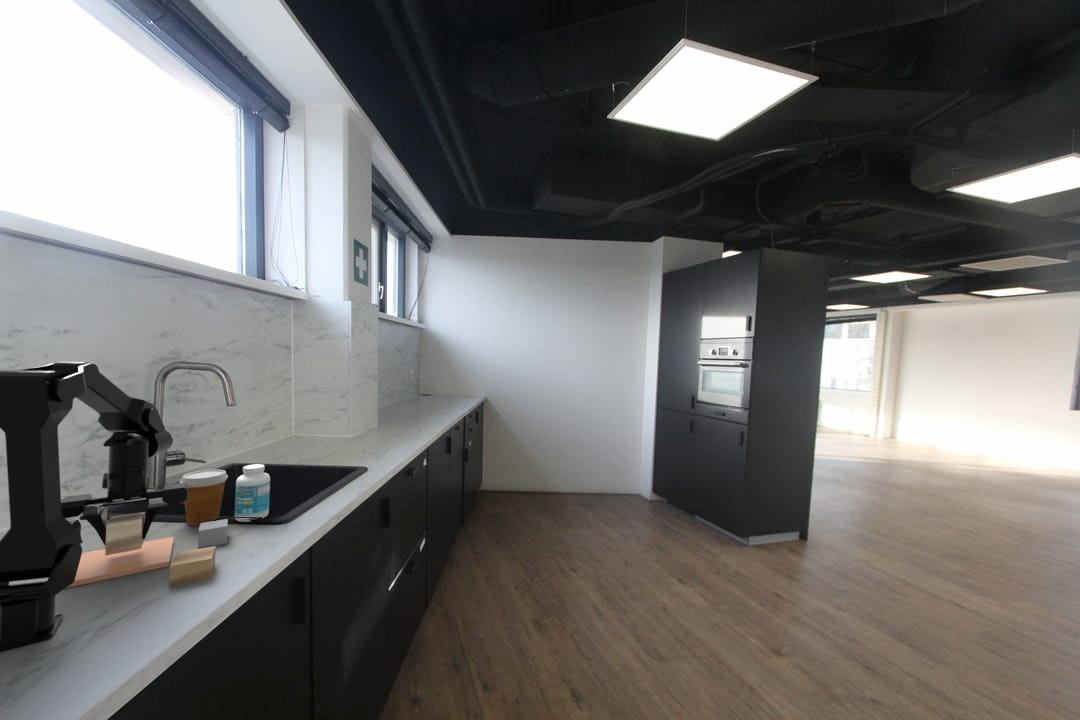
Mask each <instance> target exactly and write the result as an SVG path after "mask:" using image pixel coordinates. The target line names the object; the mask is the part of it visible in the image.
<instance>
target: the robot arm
mask: <svg viewBox="0 0 1080 720" xmlns="http://www.w3.org/2000/svg"><path fill="white" fill-rule="evenodd" d="M99 370H100V369H99V367H98V366H97V365H96V364H95V363H91V362H89V361H64V360H63V361H61V360H59V361H56V362H51V363H48V364H44V365H40V366H34V367H33V366H32V367H26V368H20V369H15V370H14V369H1V370H0V430H1V431H2V432H4V435H5V436H4V438H5V440H4V441H5V455H6V470H7V472H6V473H7V488H8V489H7V490H8V491H7V492H8V505H9V507H8V508H9V522H10V523H9V526H10V527H9V529H8V530H7V532H6V533H5V534H4V535H3V537H2V538H1V539H0V652H1V651H6V650H10V649H13V648H17V647H18V648H19V647H22V646H26V645H29V644H33V643H36V642H40V641H44V640H48V639H50V638H52V637H53V635H54V634H55V632H56V631H57V628H58V627H59V626H60V623H61V622H62V620H63V618H64V614H63V613H59V614H58V613H57V614H56V597H57V596H56V595H58V594H60V593H61V592H62V591H63V590H65V589H68V588H69V587H68V586H69V585H71V584H72V583H74V581H75V577H76V574H77V570H78V566H79V562H80V559H81V555H82V554H83V547H82V544H83V540H82V534H81V531H82V524H81V522H80V521H87V522H88V523H89V524H90V526H91V527H92V528H93V529H94V530H95V531H96V533H97V535H98V536H99V538H100V540H101V542H102V544H103V545H104V546H105V547H106V525H107V523H108V521H109V520H108V507H111V506H120V505H126V504H127V505H128V504H135V503H142V502H148V506H147V508H146V511H145V521H144V527H143V532H142V539H144V540H145V539H146V537H147V536H148V535H147V534H148V533H149V530H150V527H151V526H152V523H153V521H154V519H155V517H156V516H157V515H158V513H159V512H160V510H162V509H166V508H167V506H168V504H175V503H182V502H183V503H184V501H186V500H187V497H188V484H187V483H180V482H178V483H168V484H164V486H163V489H158V490H157V489H156V490H150V491H148V490H149V489H150V475H149V473H148V472H149V471H148V470H149V459H150V458H152V457H154V456H157V455H160V454H162V453H165V452H166V451H168V450H169V449H171V447H172V446H173V443H174V439H173V437H172V434H171V433H170V432H169V431H167V430H166V427H165V425H164V423H163V420H162V417H161V415H160V413H159V411H158V409H157V408H156V406H155V405H154V404H153V403H151V402H150V401H147V400H145V399H141V398H136V397H131V396H129V395H128V394H126V393H125V391H123V390H122V389H120V388H119V387H118V386H117V384H115V383H113V382H112V381H111V380H109V378H107V377H106V376H105V375H104V374H103V373H101V372H100V371H99ZM75 398H76V399H78V400H79V401H80V402H82V404H85V405H86V406H88V407H89V408H91V409H92V410H94V411H95V412H96V413H97V414H98V415H99V416H98V418H97V422H98V423H99V424H100V425H101V426H102V427H103V428H104V429H105V431H107V432H109V433H110V432H111V433H112V435H111V436H110V437H109V438H108V439H106V440H105V441H104V443H103V444H102V446H103V447H109V449H108V466H107V468H108V469H107V471H108V472H104V473H103V477H102V484H101V488H102V489H103V490H107V491H106V492H107V495H106V496H101V497H94V498H93V495H92V493H85V494H77V495H68V496H65V497H64V498H62V495H61V476H60V475H61V474H60V452H59V451H60V450H59V425H60V424H61V422H62V421H64V419H65V418H66V417H67V415H69V413H70V412H71V410H72V409H73V407H74V406H73V405H74V399H75ZM76 517H79V519H72V520H69V518H76ZM79 520H80V521H79ZM40 579H47V580H46V581H45V580H44V581H36V582H35V581H33V582H23V583H15V584H10V582H11V583H12V582H19V581H20V582H21V581H30V580H40ZM67 587H68V588H67Z"/></svg>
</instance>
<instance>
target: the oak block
mask: <svg viewBox="0 0 1080 720" xmlns="http://www.w3.org/2000/svg"><path fill="white" fill-rule="evenodd" d="M216 546H217V545H214V546H208V547H203V548H196V549H191V550H185V551H179V552H175V553H176V554H175V556H174V558H173V560H172V561H171V563H170V564H169V565H170V566H169V584H168V585H169V586H168V587H169V588H171V587H176V586H180V585H185V584H190V583H195V582H199V581H206V580H211V579H212V576H213V574H214V570H215V566H216V554H217V553H216V550H217V549H216Z"/></svg>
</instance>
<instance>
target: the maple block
mask: <svg viewBox="0 0 1080 720" xmlns="http://www.w3.org/2000/svg"><path fill="white" fill-rule="evenodd" d="M145 516H146V511H141V512H132V513H127V514H121V515H114V516H110V517H109V519H108V520H107V521H108V523H107V525H106V546H105V548H104V549H105V556H106V555H111V554H116V553H122V552H127V551H132V550H138V549H141V547H142V545H143V542H145V539H142V532H143V527H144V521H145Z"/></svg>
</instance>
